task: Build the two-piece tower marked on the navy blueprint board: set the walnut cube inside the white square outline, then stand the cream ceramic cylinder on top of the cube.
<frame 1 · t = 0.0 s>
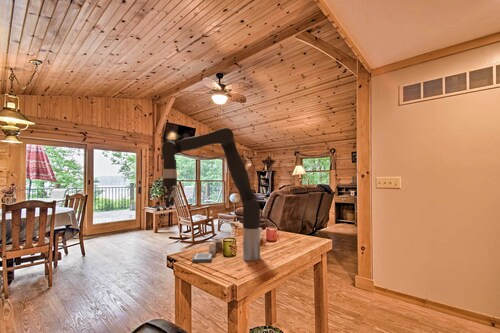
hand: (169, 206, 135), 29 cm above the table, tool pointing down, fingers open, 8 cm apart
duck figurine: (258, 242, 168), on the table
cream cylinder: (212, 253, 145), on the table
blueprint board: (203, 258, 136), on the table
walnut cube: (218, 249, 152), on the table
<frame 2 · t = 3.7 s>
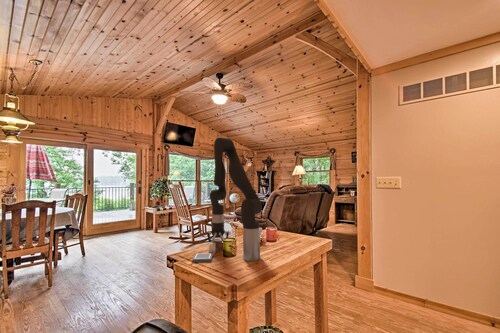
hand: (218, 248, 152), 1 cm above the table, tool pointing down, fingers closed on walnut cube, 5 cm apart
walnut cube: (218, 249, 152), on the table, touching gripper
everything else where it was.
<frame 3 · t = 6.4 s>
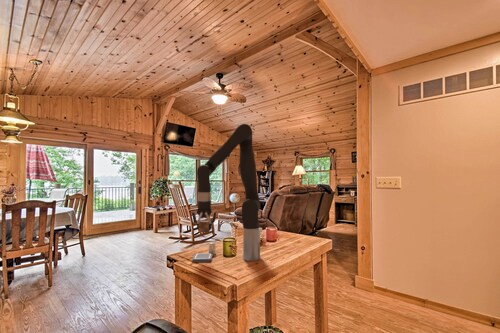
hand: (204, 229, 138), 16 cm above the table, tool pointing down, fingers closed on walnut cube, 5 cm apart
walnut cube: (204, 231, 138), point 15 cm above the table, touching gripper
everything else where it was.
when the fingers open (3 cm above the table, at t = 9.4 s): walnut cube stays where it is, resting on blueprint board.
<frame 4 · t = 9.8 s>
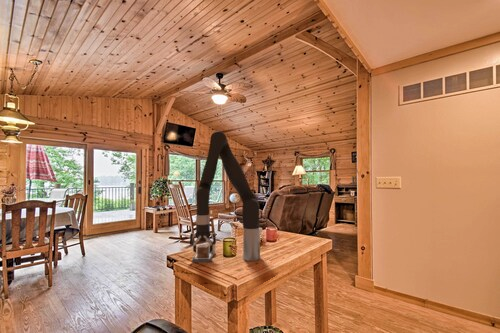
hand: (203, 251, 136), 4 cm above the table, tool pointing down, fingers open, 8 cm apart
walnut cube: (203, 256, 136), point 1 cm above the table, touching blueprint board
everything else where it was.
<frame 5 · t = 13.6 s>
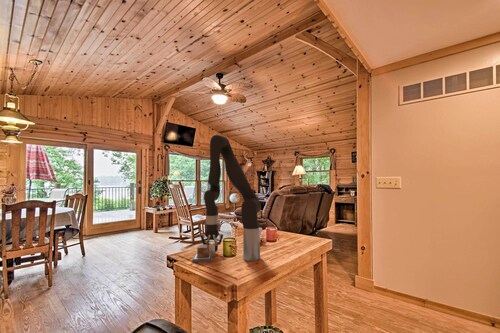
hand: (212, 251, 145), 1 cm above the table, tool pointing down, fingers closed on cream cylinder, 4 cm apart
cream cylinder: (212, 253, 145), on the table, touching gripper
everything else where it was.
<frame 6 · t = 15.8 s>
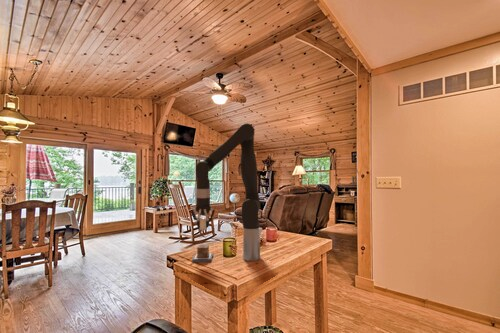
hand: (203, 227, 137), 17 cm above the table, tool pointing down, fingers closed on cream cylinder, 4 cm apart
cream cylinder: (203, 229, 137), point 16 cm above the table, touching gripper
everything else where it was.
when the fingers open (9 cm above the table, at t = 18.2 s): cream cylinder stays where it is, resting on walnut cube.
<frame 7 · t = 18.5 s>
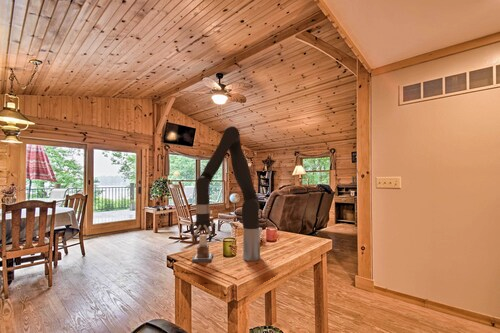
hand: (203, 241, 136), 9 cm above the table, tool pointing down, fingers open, 7 cm apart
cream cylinder: (203, 246, 136), point 7 cm above the table, touching walnut cube
walnut cube: (203, 256, 136), point 1 cm above the table, touching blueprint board, cream cylinder
everything else where it was.
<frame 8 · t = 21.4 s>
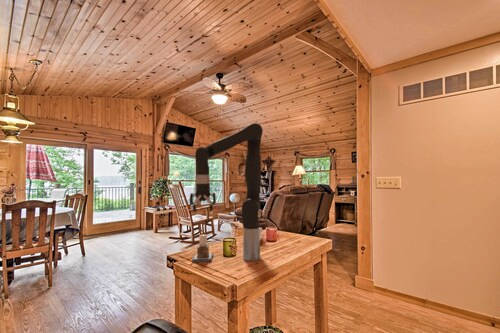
hand: (202, 211, 137), 26 cm above the table, tool pointing down, fingers open, 8 cm apart
nothing on the table moved.
at the end: walnut cube 0.1 cm off-centre on the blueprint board, point 1.5 cm above the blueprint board's base; cream cylinder 0.0 cm off-centre on the walnut cube, point 5.5 cm above the walnut cube's base; cream cylinder tilted 0° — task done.
